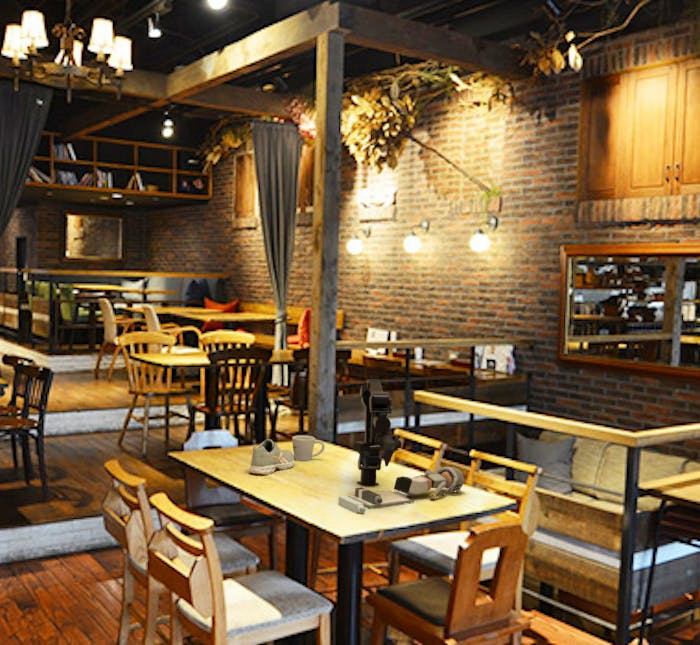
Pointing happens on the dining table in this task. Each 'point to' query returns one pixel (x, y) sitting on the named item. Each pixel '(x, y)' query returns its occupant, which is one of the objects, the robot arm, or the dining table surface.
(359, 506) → the pale blue marker
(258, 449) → the running shoe
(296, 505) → the dining table surface
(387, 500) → the whiteboard
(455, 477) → the toy
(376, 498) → the black marker
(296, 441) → the mug
